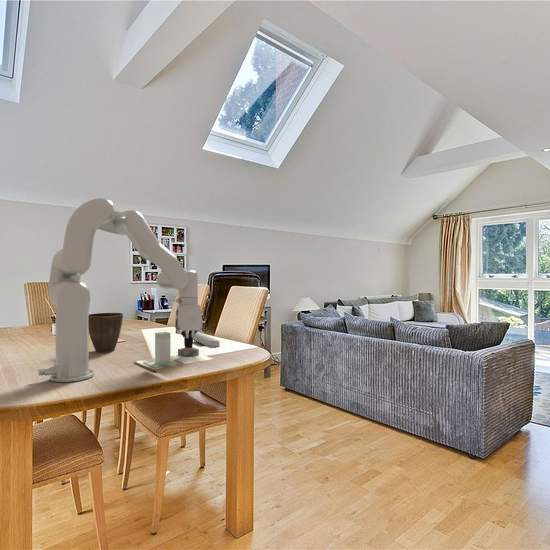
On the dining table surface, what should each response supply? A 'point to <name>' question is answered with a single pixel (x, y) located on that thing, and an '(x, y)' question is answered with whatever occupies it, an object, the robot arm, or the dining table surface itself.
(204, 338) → the tube
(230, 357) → the dining table surface
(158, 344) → the grey upright block
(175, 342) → the dining table surface
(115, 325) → the plant pot
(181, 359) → the board
